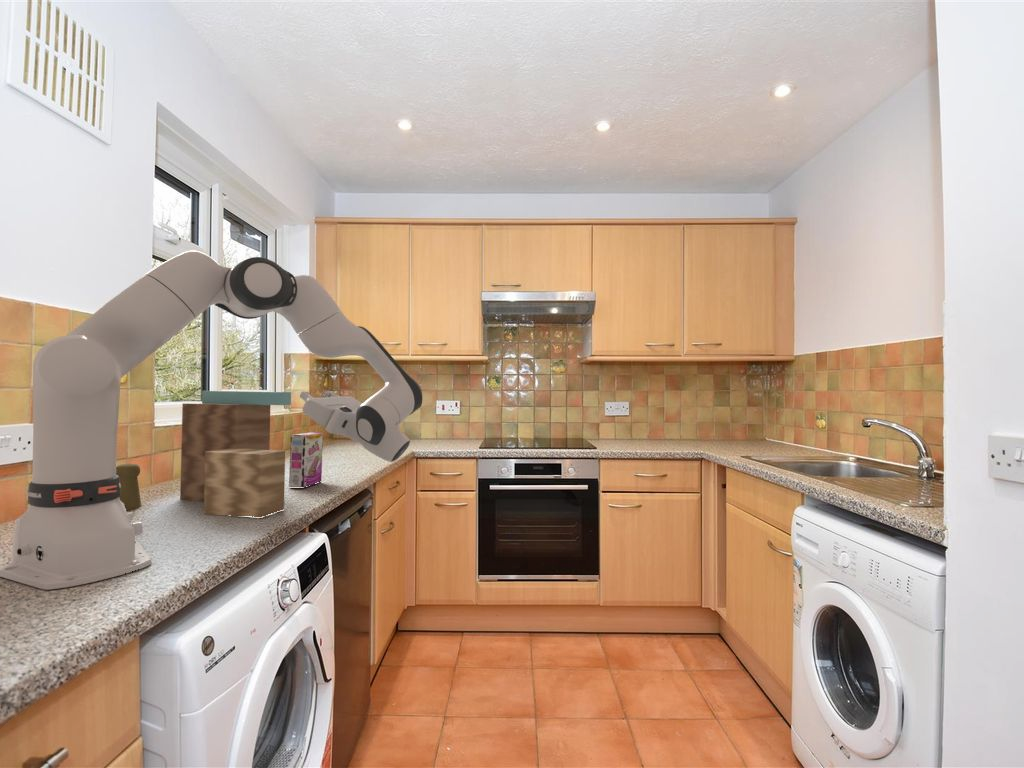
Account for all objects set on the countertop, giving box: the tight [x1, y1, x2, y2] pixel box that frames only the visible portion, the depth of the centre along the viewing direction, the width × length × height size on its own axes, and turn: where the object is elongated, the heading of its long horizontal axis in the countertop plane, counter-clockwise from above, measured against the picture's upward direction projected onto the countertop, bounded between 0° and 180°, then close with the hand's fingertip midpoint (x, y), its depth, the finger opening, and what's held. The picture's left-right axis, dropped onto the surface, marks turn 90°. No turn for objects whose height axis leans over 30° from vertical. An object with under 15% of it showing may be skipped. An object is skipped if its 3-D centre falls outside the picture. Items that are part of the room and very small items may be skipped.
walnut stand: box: [179, 402, 271, 502], centre depth 138 cm, size 18×12×26 cm, turn 77°
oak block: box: [203, 448, 286, 517], centre depth 121 cm, size 16×8×15 cm, turn 77°
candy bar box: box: [288, 432, 324, 488], centre depth 155 cm, size 11×5×16 cm, turn 172°
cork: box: [116, 463, 142, 511], centre depth 123 cm, size 6×6×11 cm
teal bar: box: [201, 390, 292, 406], centre depth 137 cm, size 26×4×4 cm, turn 77°
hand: (313, 393), depth 132 cm, fingers open, 8 cm apart
